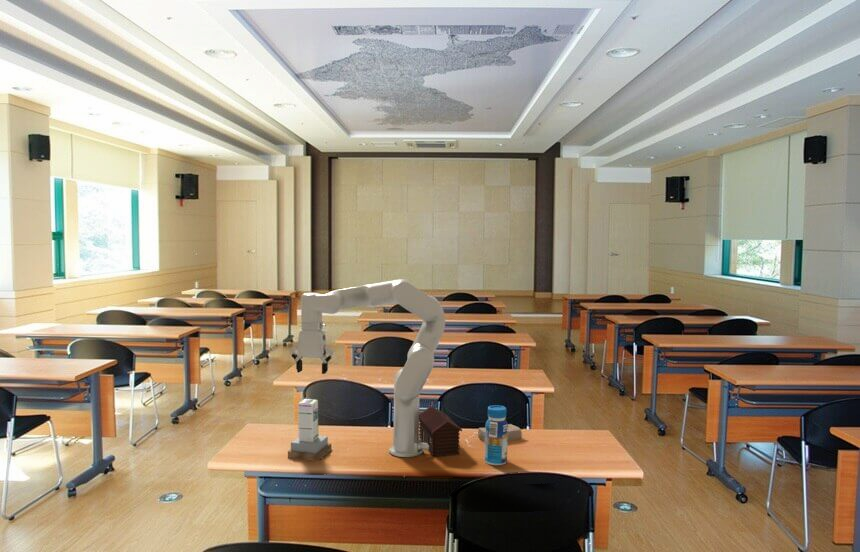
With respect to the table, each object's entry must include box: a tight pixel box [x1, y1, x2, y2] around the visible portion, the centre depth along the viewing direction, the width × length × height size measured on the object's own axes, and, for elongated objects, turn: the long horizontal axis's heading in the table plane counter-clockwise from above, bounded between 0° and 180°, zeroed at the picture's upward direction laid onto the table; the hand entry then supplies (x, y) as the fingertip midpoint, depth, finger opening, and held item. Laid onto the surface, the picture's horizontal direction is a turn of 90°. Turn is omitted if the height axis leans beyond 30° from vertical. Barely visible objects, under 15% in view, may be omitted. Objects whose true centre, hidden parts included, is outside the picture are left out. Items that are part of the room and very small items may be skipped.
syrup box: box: [297, 398, 320, 442], centre depth 227 cm, size 6×6×14 cm
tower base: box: [287, 442, 332, 462], centre depth 228 cm, size 12×12×3 cm
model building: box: [419, 401, 463, 458], centre depth 236 cm, size 21×12×15 cm, turn 17°
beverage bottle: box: [484, 404, 509, 466], centre depth 222 cm, size 8×8×20 cm
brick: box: [477, 423, 523, 443], centre depth 247 cm, size 17×8×5 cm, turn 118°
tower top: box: [290, 435, 329, 453], centre depth 228 cm, size 10×10×3 cm
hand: (312, 372), depth 226 cm, fingers open, 9 cm apart
